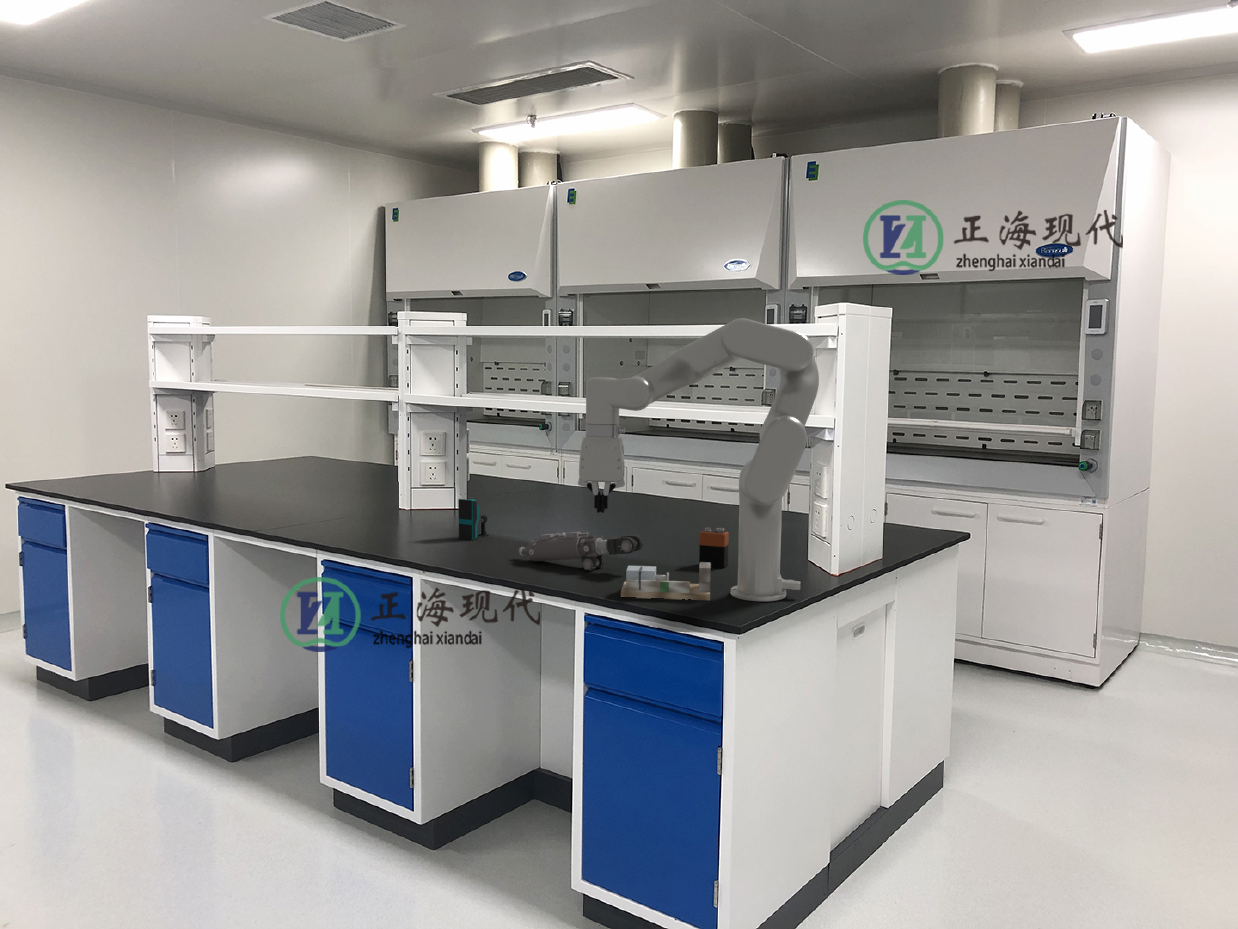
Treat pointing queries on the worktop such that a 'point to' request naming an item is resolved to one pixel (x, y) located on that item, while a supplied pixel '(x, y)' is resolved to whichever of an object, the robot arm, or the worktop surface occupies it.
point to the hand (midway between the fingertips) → (601, 511)
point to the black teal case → (470, 520)
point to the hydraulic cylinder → (580, 548)
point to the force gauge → (643, 574)
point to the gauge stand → (671, 587)
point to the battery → (714, 547)
